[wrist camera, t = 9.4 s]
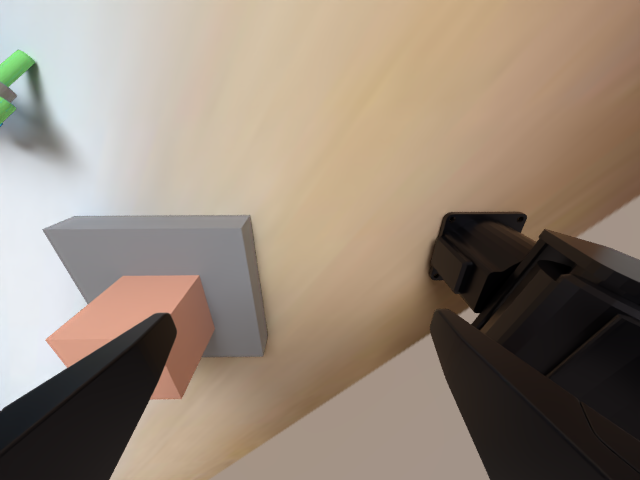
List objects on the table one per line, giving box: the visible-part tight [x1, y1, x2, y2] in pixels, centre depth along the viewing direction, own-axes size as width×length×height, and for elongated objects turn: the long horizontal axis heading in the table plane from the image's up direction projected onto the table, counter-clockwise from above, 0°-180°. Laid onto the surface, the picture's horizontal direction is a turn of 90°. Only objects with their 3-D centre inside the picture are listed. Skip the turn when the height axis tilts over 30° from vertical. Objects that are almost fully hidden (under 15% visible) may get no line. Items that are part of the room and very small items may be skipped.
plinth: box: [42, 215, 268, 357], centre depth 21 cm, size 14×14×2 cm
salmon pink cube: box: [46, 275, 215, 399], centre depth 17 cm, size 6×6×6 cm
